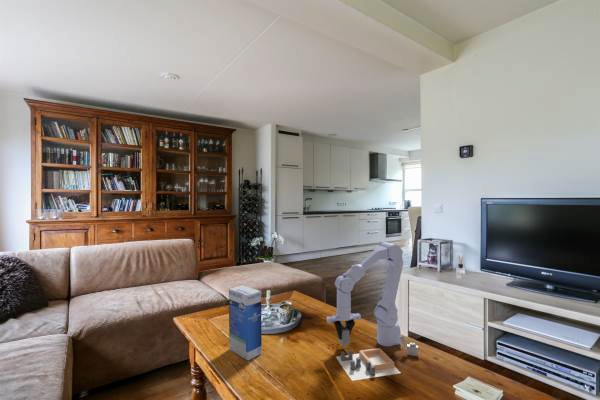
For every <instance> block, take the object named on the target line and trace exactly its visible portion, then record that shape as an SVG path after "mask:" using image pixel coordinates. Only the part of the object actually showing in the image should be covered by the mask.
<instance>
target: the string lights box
mask: <svg viewBox="0 0 600 400" xmlns="http://www.w3.org/2000/svg"><path fill="white" fill-rule="evenodd" d="M228 323H229V324H228V326H229V327H228V329H229V330H228V333H229V334H228V337H229V339H228V340H229V341H228V342H229V346H228V347H229V350H230V351H231V352H233V353H235V354H237V355H239V357H241V358H243V359H244V360H247V361H250V360H252V359H254V358H256V357H258V356H260V355H262V353H263V352H262V351H263V350H262V345H263V344H262V343H263V342H262V340H263V339H262V291H261V290H259V289H255V288H252V287H249V286H246V285H242V284H241V285H238V286H235V287H231V288H228Z"/></svg>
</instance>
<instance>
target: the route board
mask: <svg viewBox="0 0 600 400" xmlns="http://www.w3.org/2000/svg"><path fill="white" fill-rule="evenodd" d="M367 357H368V358H369V359H370V360H371V362H372V363H373V364H376V363H383V362H386V361H385V360H384V359H383V358H382V357H381V356H380V355H379V354H378V355H370V356H367ZM335 358H336V360H337V361H338V363H339V364H340V365H341V367H342V369H343V370H344V371H345V373H346V374H347V376H348V377H349V379H350V380H351V382H354V381H360V380H367V379H372V378H373V379H374V378H380V377H385V376H386V377H387V376H391V375H398V374H401V371H399V369H398V368H397V367H396V366H394V368H390V369H383V370H377V371H375V367H374V366H371V362H370V361H366V363H365V362H364V361H363V360H362V358H361V357H360V356H359V353H354V354H353V350H348V355H347V354H346V353H345V351H340V355H339V356H338V355H337V356H335Z"/></svg>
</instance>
